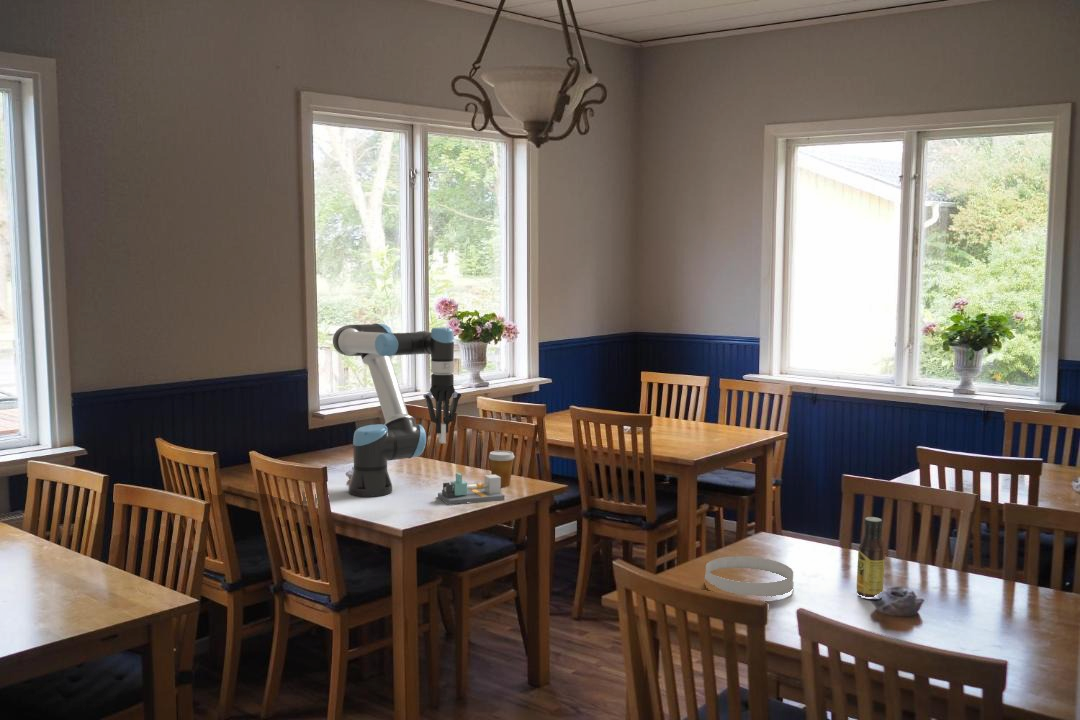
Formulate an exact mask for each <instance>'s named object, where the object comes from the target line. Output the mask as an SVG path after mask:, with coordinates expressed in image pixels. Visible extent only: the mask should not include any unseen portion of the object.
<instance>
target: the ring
mask: <svg viewBox="0 0 1080 720" xmlns="http://www.w3.org/2000/svg"><path fill="white" fill-rule="evenodd" d="M724 568H751V569H760V570H765V571H770V572H772V573H776V574H779V575H781V576H783V577H785V578H787V579H785V580H782V581H777V582H769V583H750V582H740V581H734V580H729V579H725V578H722V577H719V576H716V575H714V574H712V573H710V572H711V571H713V570H717V569H724ZM705 579H706V580H707V581H708V582H709V583H710V584H712V585H715V587H717V588H719V589H721V590H723V591H726V592H730V593H735V594H737V595H756V596H766V597H767V596H771V597H772V596H776V595H783V594H785V593H788V592H790V591H791V590H792V589H793V590H794V588H793V586H794V585H795V584H794V571H793V569H792V568H791V567H790V566H789V565H787V564H785V563H782V562H780V561H776V560H772V559H768V558H763V557H756V556H742V555H741V556H739V555H738V556H737V555H736V556H726V557H725V556H723V557H718V558H715V559H711V560H710V561H708V562H707V563H706V565H705V576H704V580H705ZM794 587H795V586H794Z"/></svg>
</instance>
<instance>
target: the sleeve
mask: <svg viewBox="0 0 1080 720" xmlns="http://www.w3.org/2000/svg"><path fill="white" fill-rule="evenodd" d="M450 484H452V485H453V486H454V491H453V493H454V496H458V495H467V485H468V482H466V481H464V480H463V474H461V473H460V472H455V481H450Z"/></svg>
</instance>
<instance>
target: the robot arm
mask: <svg viewBox="0 0 1080 720" xmlns="http://www.w3.org/2000/svg"><path fill="white" fill-rule="evenodd" d="M454 343H455V338H454V329H453V328H451V327H442V326H441V327H438V326H437V327H432V329H431V331H426V330H423V331H422V330H420V331H415V332H394V331H393V330H392V329H391V328H390V327H389V326H388V325H387V324H384V323H371V324H370V323H368V324H365V323H363V324H347V325H344V326H341V327H339V328H337V330H336V331H335V332H334V334H333V337H332V345H333V348H334V349H335V350H336V352H337V353H339V354H341V355H343V356H348V357H359V356H360V357H361V360H362V363H363V364H365V365H366V366H368V369H369V371H370V376H371V379H372V381H373V385H374V388H375V392H376V395H377V398H378V402H379V405H380V407H381V411H382V414H383V419H384V421H385V423H384V424H381V423H378V424H369V425H363V426H361V427H359V428H357V429H356V430H354V433H353V439H352V440H353V441H352V445H353V472H352V476H351V478H350V482H349V484H348V494H350V495H351V496H355V497H366V498H367V497H368V498H369V497H370V498H371V497H373V498H374V497H382V496H386V495H390V494H391V493H392V492H393V484H392V481H391V478H390V475H389V474H390V473H389V471H388V462H389V461H396V460H405V459H412V458H416V457H419V456H421V455H422V454H423V452H424V450H425V448H426V444H427V433H426V430H425V428H424V426H423V425H422V424H419V423H418V424H417V423H416V421H415V418H414V416H412V415H410V414H409V412H408V408H407V405H406V403H405V400H404V397H403V393H402V390H401V387H400V384H399V382H398V381H399V380H398V378H397V375H396V371H395V369H394V365H393V361H392V357H394V356H410V355H412V356H413V355H431V356H430V357H431V359H430V360H431V361H430V362H431V363H430V364H431V365H430V366H431V367H430V368H431V369H430V372H431V375H430V378H431V379H430V389H429V391H428V393H425V394H423V398H424V400H425V402H426V407H427V409H428V414H429V418H430V422H432V423H435V424H436V425H435V426H436V427H435V429H436V432H435V433H437V434H438V443H440V444H447V434H448V433H449V424H450V423H452V422H454V421H455V418H456V417H455V416H456V413H457V409H458V403H459V400H460V399H461V397H462V393H460V392H458V391H456V389H455V387H454V384H455V383H454V378H455V377H454V374H453V373H454V369H455V368H454V362H455V361H454V353H455V351H454V348H455V345H454ZM451 398H452V400H451V406H450V399H451ZM432 399H434V401H435V407H434V405H433V401H432ZM434 408H435V409H434ZM442 416H443V417H442Z"/></svg>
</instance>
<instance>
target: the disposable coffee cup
mask: <svg viewBox="0 0 1080 720" xmlns="http://www.w3.org/2000/svg"><path fill="white" fill-rule="evenodd" d="M488 458H489V465H490V472H491V474H490V475H497V476H499V477H501V488H504V487H505V486H507V487H509V485H511V478H512V472H513V471H512V470H513V464H514V459H515V455H514V452H512V451H510V450H509V451H508V450H493V451H490V452H489V455H488ZM505 488H506V487H505Z"/></svg>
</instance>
